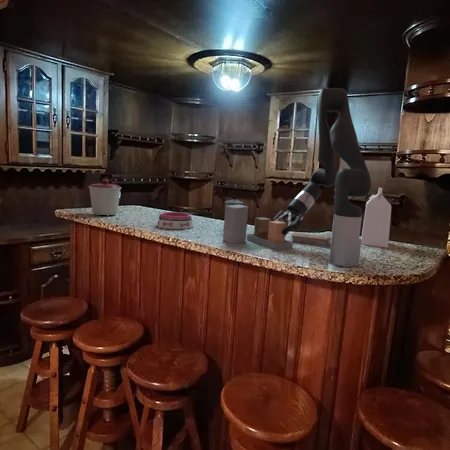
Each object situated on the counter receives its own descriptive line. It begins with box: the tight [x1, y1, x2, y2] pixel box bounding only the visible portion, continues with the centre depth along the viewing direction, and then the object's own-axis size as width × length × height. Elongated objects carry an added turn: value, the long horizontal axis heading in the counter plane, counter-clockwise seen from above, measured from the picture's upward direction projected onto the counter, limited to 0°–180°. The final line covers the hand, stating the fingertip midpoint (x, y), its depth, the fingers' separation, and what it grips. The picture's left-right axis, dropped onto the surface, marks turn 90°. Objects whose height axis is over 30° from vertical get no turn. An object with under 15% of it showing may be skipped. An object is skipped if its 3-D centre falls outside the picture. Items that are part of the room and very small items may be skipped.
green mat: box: [237, 243, 268, 251], centre depth 150 cm, size 10×8×1 cm
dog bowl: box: [156, 211, 194, 231], centre depth 190 cm, size 18×19×7 cm
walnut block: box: [253, 217, 272, 241], centre depth 162 cm, size 5×5×10 cm
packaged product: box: [287, 231, 332, 249], centre depth 164 cm, size 18×5×10 cm
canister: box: [88, 178, 122, 216], centre depth 215 cm, size 18×18×21 cm
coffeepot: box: [222, 195, 245, 233], centre depth 183 cm, size 15×9×18 cm, turn 176°
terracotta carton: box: [268, 220, 287, 243], centre depth 152 cm, size 5×5×10 cm
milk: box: [360, 187, 392, 248], centre depth 172 cm, size 12×12×26 cm
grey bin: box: [246, 233, 294, 251], centre depth 157 cm, size 20×9×3 cm, turn 28°
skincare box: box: [222, 205, 249, 244], centre depth 158 cm, size 8×7×16 cm
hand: (276, 232), depth 152 cm, fingers open, 8 cm apart
